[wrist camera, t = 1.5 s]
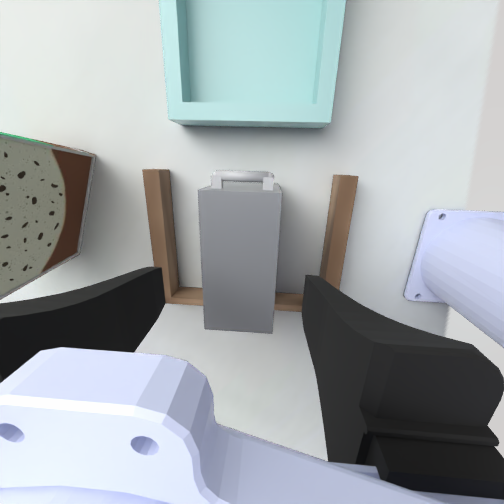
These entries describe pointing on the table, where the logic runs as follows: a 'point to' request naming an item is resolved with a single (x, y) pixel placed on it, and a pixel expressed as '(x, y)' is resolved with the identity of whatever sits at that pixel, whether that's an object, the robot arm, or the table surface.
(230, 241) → the gray box with handle
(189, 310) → the table surface
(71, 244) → the food container
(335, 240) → the frame
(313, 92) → the tray
